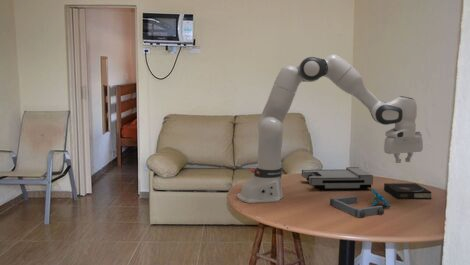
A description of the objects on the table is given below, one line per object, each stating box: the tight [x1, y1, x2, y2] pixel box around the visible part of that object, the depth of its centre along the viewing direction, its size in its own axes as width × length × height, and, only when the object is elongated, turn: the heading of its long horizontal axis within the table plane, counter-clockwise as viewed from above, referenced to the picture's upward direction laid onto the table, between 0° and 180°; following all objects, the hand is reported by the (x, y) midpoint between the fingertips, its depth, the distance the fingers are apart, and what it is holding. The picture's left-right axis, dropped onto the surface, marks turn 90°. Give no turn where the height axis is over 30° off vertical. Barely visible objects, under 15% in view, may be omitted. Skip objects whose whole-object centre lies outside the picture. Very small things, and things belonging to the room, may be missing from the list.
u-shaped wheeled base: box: [329, 195, 385, 219], centre depth 187 cm, size 14×20×3 cm, turn 24°
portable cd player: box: [383, 182, 433, 200], centre depth 212 cm, size 16×17×4 cm
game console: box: [301, 166, 374, 192], centre depth 227 cm, size 21×32×8 cm, turn 95°
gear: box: [370, 189, 390, 207], centre depth 192 cm, size 11×6×10 cm
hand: (402, 162), depth 195 cm, fingers open, 4 cm apart
